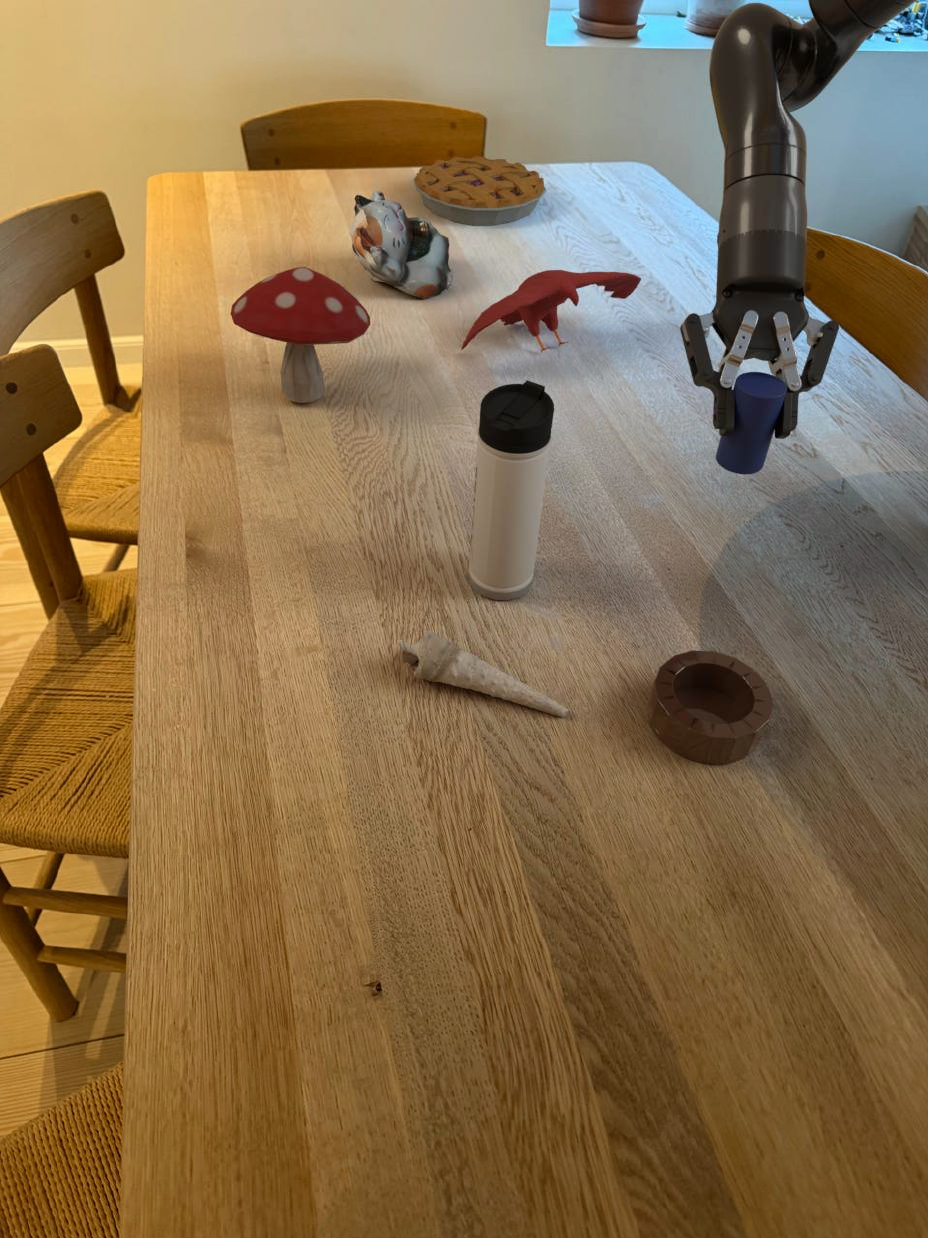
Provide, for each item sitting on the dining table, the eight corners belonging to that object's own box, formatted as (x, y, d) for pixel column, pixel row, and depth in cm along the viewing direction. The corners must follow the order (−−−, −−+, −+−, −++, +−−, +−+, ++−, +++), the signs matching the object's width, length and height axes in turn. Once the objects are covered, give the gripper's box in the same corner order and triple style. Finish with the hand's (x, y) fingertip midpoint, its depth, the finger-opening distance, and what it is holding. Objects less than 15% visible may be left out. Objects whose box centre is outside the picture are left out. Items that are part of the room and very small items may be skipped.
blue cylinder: (758, 448, 90) (780, 372, 85) (767, 475, 87) (792, 398, 82) (711, 446, 90) (731, 370, 85) (719, 473, 87) (740, 396, 81)
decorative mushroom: (224, 373, 118) (207, 254, 108) (343, 349, 124) (338, 234, 114) (266, 439, 108) (252, 315, 98) (394, 410, 114) (393, 289, 104)
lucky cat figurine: (452, 304, 134) (411, 225, 123) (376, 326, 139) (329, 252, 127) (457, 232, 142) (418, 152, 131) (384, 255, 146) (341, 179, 135)
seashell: (402, 651, 86) (409, 611, 83) (570, 706, 83) (582, 666, 81) (385, 677, 82) (392, 636, 80) (560, 735, 80) (572, 694, 77)
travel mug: (545, 572, 94) (570, 392, 80) (513, 610, 90) (533, 428, 76) (489, 549, 96) (505, 370, 82) (456, 585, 92) (466, 404, 78)
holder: (748, 680, 85) (758, 652, 82) (772, 767, 78) (784, 740, 76) (641, 676, 85) (648, 648, 82) (655, 762, 78) (664, 735, 75)
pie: (485, 171, 173) (487, 141, 170) (569, 210, 162) (573, 180, 158) (388, 195, 163) (388, 165, 159) (470, 239, 151) (472, 207, 148)
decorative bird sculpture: (445, 395, 125) (498, 351, 112) (417, 329, 125) (467, 277, 111) (605, 341, 138) (670, 295, 125) (579, 281, 137) (642, 229, 124)
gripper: (692, 221, 81) (684, 422, 81) (859, 229, 81) (852, 430, 81) (671, 256, 88) (664, 440, 88) (824, 264, 89) (818, 447, 88)
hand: (754, 434), depth 84 cm, fingers closed on blue cylinder, 4 cm apart
